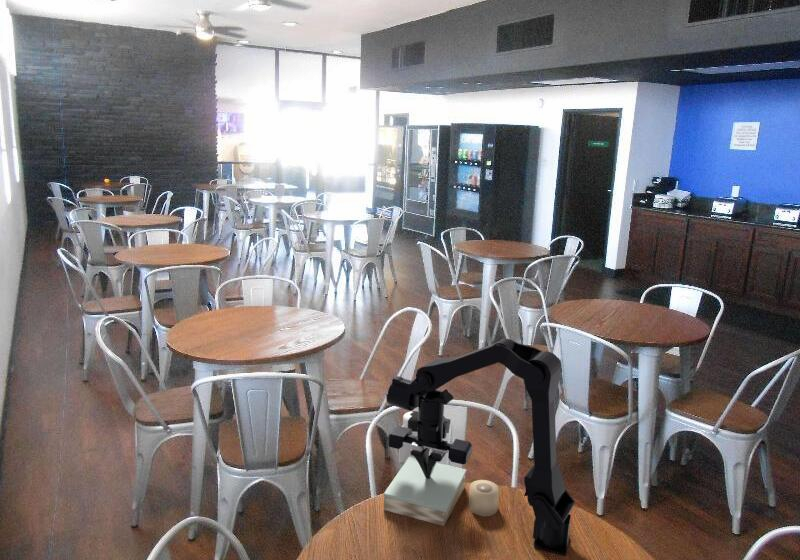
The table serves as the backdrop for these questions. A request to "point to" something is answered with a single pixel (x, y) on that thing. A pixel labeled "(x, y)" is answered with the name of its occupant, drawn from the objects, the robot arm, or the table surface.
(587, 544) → the table surface
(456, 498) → the box
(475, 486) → the cream dome knob
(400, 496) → the lid
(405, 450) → the medicine bottle
